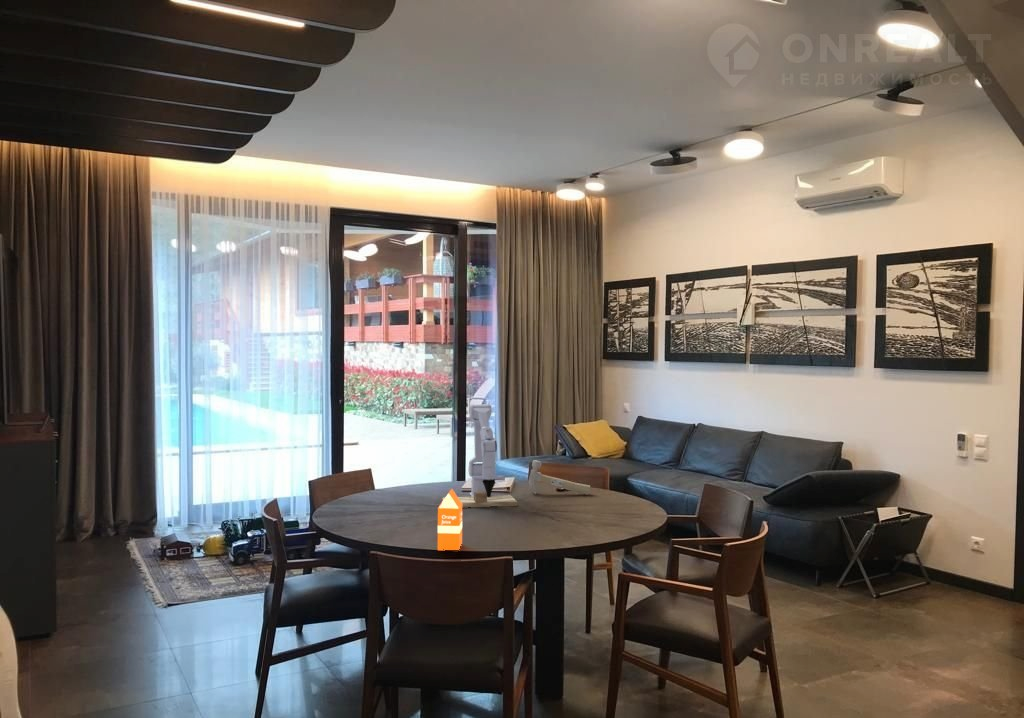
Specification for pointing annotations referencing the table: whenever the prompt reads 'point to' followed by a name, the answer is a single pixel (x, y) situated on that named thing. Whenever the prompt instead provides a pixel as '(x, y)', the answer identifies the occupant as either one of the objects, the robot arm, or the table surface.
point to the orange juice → (450, 523)
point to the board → (488, 501)
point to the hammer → (554, 481)
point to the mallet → (480, 496)
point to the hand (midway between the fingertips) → (488, 496)
